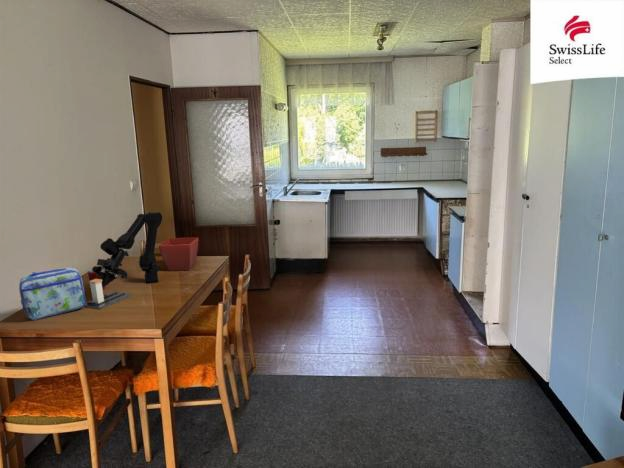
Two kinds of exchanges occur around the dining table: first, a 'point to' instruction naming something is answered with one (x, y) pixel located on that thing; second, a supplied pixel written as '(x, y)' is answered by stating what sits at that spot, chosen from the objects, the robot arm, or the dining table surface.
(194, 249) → the plant pot
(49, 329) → the dining table surface
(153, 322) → the dining table surface
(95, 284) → the fader knob
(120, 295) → the plate
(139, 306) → the dining table surface
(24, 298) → the lunch box
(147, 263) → the robot arm
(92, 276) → the canned food
